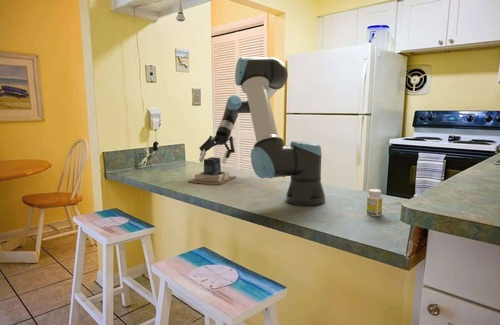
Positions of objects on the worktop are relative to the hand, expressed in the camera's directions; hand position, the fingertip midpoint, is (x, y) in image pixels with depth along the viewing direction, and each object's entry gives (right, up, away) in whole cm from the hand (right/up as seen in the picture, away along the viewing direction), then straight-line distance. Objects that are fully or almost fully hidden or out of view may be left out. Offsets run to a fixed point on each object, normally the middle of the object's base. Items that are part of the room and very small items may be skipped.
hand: (211, 162), depth 170 cm
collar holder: (0, -9, +1) cm, 9 cm away
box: (0, -9, +1) cm, 9 cm away
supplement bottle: (+62, -18, -57) cm, 86 cm away
